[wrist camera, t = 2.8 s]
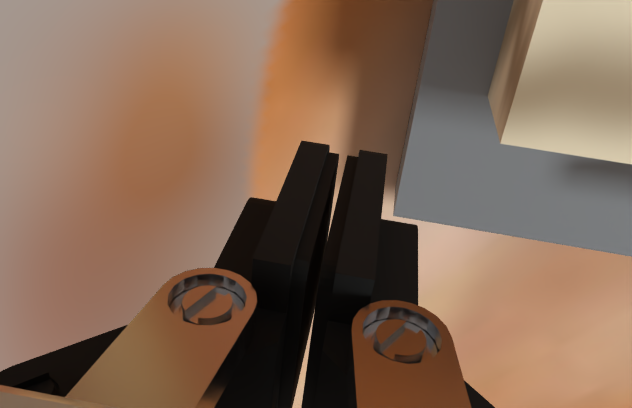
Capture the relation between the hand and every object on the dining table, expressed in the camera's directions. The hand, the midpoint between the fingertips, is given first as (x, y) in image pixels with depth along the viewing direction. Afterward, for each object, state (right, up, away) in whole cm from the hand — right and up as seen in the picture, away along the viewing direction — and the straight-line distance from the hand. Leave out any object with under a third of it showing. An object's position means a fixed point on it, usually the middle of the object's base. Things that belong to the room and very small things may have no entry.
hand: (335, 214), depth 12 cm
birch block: (+10, +7, +13) cm, 18 cm away
